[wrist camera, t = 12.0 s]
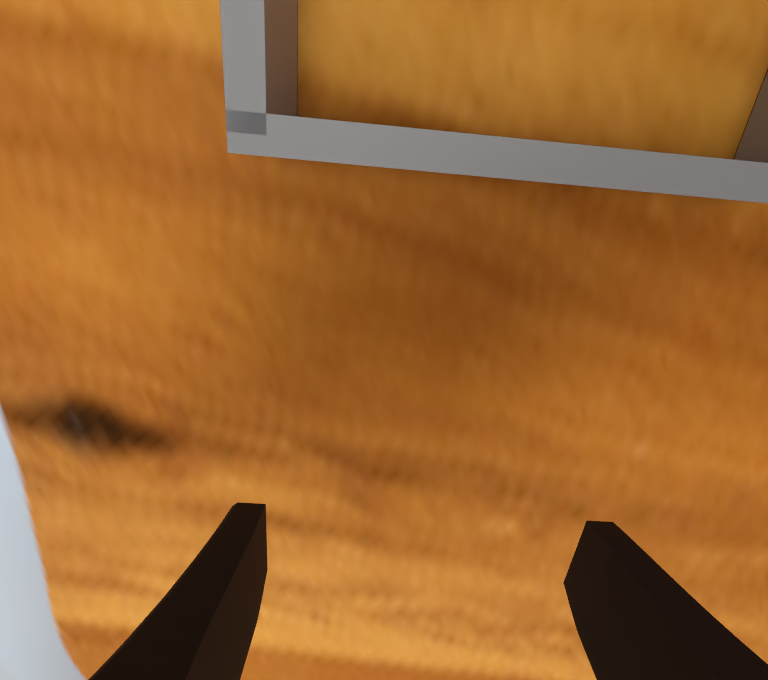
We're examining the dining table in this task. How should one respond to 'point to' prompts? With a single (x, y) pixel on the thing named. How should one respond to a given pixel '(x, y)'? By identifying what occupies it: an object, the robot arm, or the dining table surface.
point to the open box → (443, 148)
